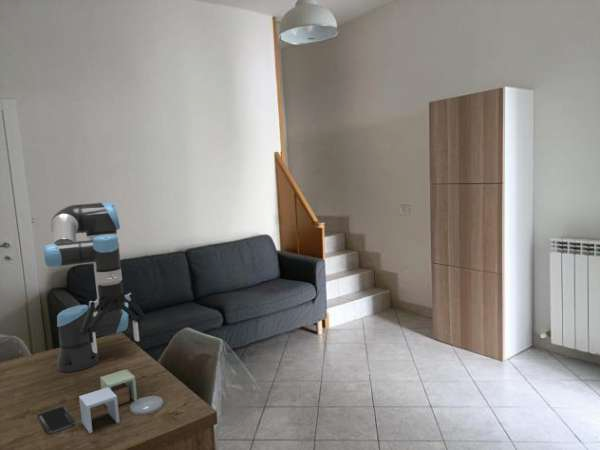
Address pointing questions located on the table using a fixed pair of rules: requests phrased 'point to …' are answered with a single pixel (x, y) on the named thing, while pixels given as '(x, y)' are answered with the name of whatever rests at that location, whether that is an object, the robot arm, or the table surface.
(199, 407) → the table surface
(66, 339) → the robot arm
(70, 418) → the phone
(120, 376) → the sage cover
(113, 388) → the walnut block
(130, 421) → the table surface
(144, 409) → the dish
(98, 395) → the blue cover
